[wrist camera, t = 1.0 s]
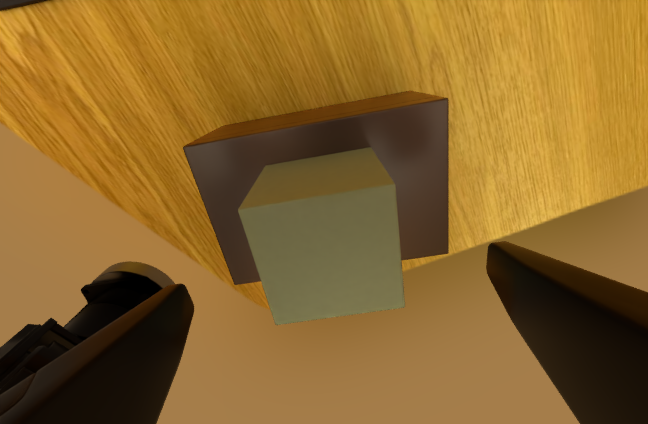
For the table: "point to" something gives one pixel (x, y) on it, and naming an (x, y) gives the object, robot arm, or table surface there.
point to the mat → (16, 3)
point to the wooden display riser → (323, 139)
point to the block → (325, 236)
